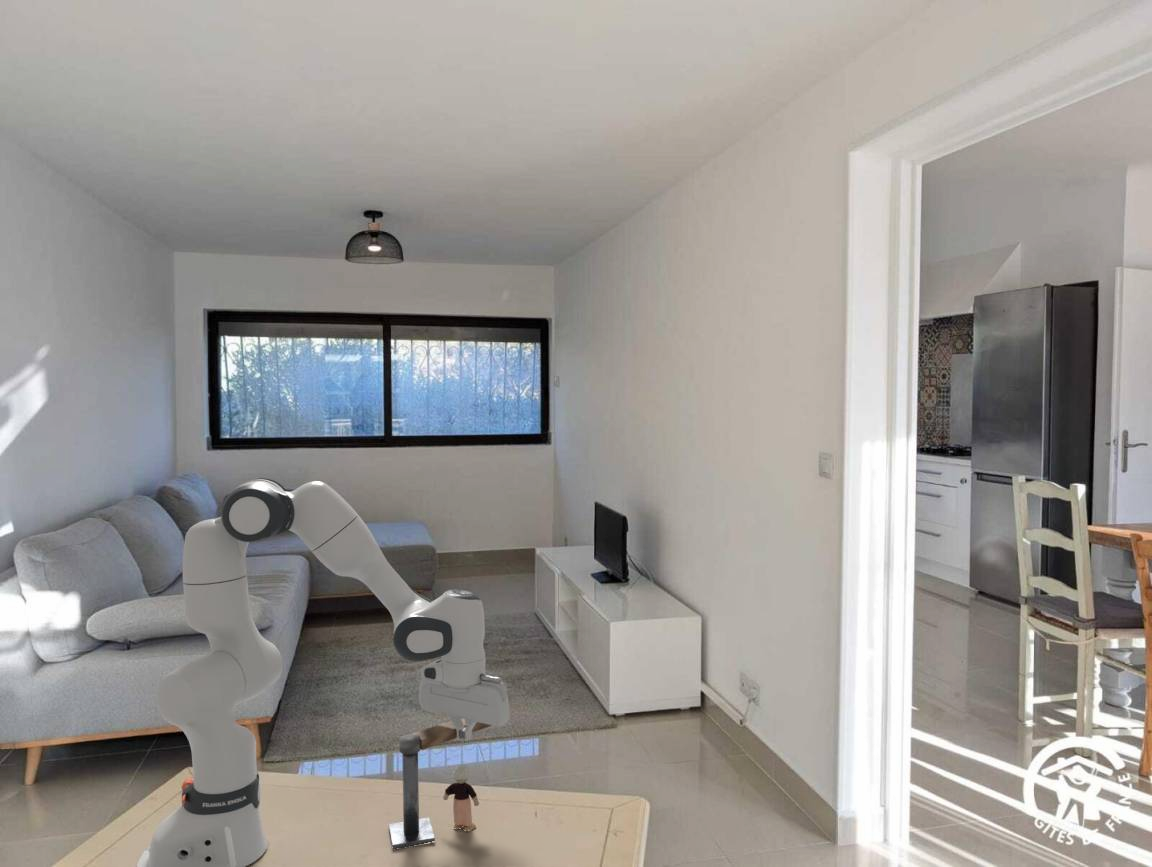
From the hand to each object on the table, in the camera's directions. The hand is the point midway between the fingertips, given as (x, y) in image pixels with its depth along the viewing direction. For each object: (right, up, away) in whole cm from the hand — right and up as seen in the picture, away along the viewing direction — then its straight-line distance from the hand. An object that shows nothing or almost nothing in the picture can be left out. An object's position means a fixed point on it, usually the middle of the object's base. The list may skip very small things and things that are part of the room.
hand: (464, 738), depth 166 cm
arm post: (-10, -18, -4) cm, 21 cm away
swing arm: (-4, 0, +1) cm, 4 cm away
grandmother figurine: (-1, -18, 0) cm, 18 cm away
